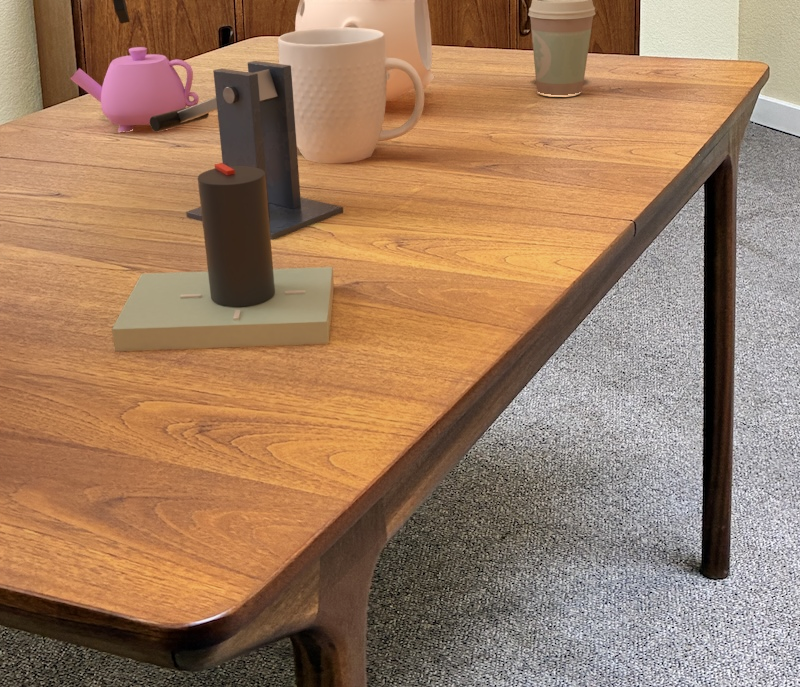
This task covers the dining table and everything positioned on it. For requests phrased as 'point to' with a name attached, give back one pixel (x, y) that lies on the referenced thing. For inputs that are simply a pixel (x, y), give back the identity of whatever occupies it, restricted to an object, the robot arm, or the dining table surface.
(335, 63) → the mug
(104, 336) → the dining table surface
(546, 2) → the coffee cup
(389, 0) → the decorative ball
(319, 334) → the panel
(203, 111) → the lever
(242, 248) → the program knob
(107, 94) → the teapot
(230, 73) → the bracket
